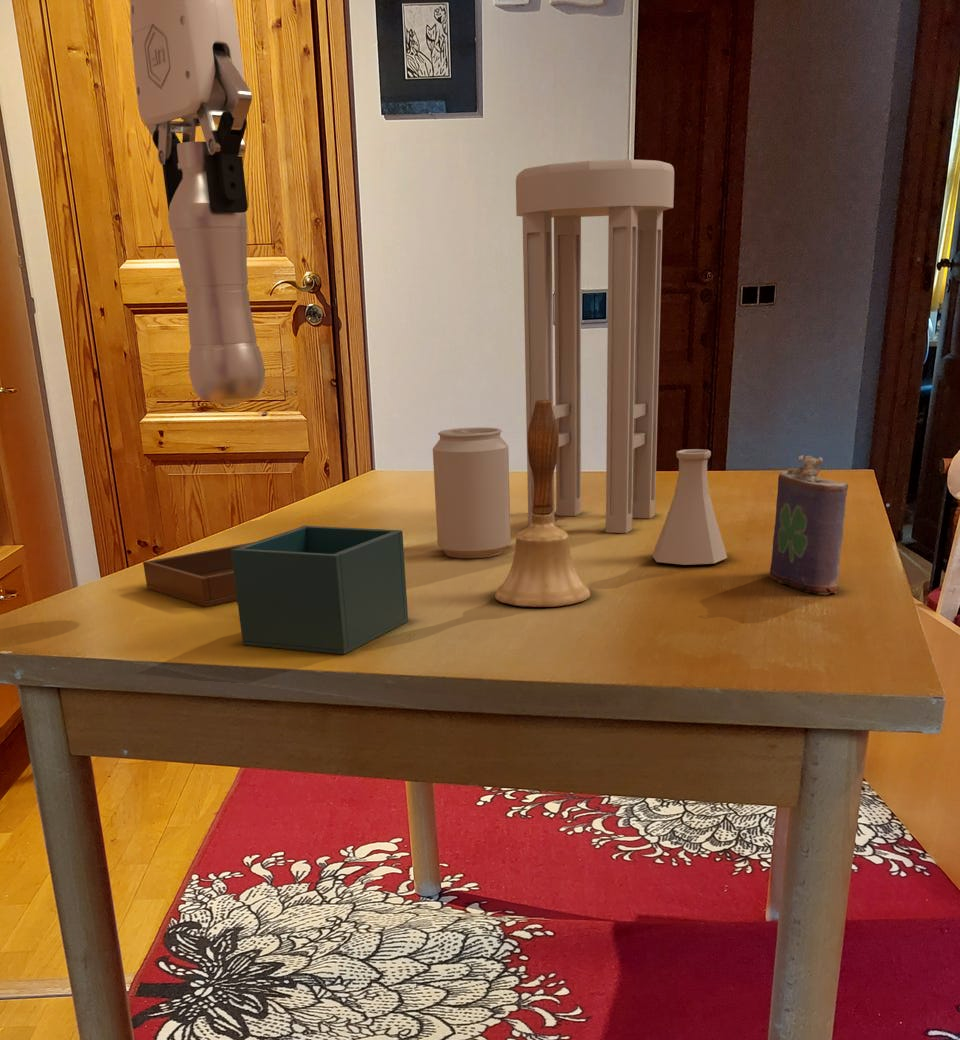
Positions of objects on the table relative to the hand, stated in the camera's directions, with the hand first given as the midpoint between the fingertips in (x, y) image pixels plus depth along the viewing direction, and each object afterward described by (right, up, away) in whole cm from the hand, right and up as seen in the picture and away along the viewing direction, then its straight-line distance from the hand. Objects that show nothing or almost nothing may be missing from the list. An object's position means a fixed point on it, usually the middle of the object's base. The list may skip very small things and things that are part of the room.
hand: (207, 213), depth 98 cm
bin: (+11, -36, -5) cm, 38 cm away
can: (+22, -23, +22) cm, 39 cm away
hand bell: (+28, -32, +4) cm, 43 cm away
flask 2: (+51, -30, +4) cm, 59 cm away
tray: (+1, -28, +13) cm, 31 cm away
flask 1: (+43, -25, +15) cm, 52 cm away
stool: (+36, -16, +35) cm, 53 cm away
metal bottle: (+1, -14, +7) cm, 15 cm away
